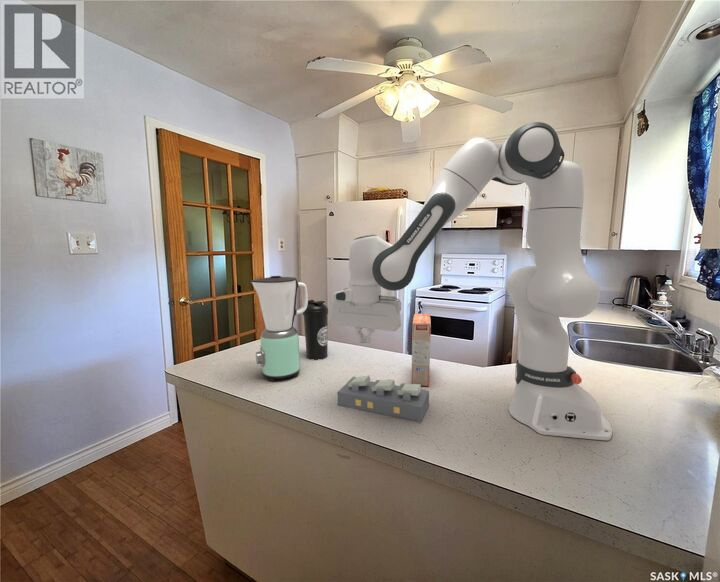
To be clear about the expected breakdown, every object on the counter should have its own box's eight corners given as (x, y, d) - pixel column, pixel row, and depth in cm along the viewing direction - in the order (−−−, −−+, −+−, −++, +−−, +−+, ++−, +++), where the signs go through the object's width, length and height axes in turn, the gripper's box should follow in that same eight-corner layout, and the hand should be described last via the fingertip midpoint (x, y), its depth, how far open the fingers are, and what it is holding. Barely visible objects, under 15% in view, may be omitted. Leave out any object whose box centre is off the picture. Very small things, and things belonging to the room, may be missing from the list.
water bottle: (318, 362, 127) (316, 304, 123) (299, 357, 132) (296, 301, 129) (334, 354, 135) (333, 299, 131) (315, 350, 140) (313, 297, 137)
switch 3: (421, 389, 90) (420, 383, 90) (417, 395, 87) (417, 390, 87) (401, 388, 93) (400, 383, 92) (397, 394, 89) (396, 389, 89)
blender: (260, 386, 106) (253, 279, 101) (254, 372, 118) (247, 276, 113) (316, 375, 115) (312, 276, 109) (304, 362, 126) (300, 272, 121)
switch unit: (428, 403, 93) (429, 384, 92) (421, 422, 84) (421, 401, 83) (352, 390, 103) (351, 372, 102) (337, 405, 93) (336, 386, 92)
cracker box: (430, 387, 104) (431, 323, 101) (410, 386, 105) (411, 322, 102) (429, 370, 117) (430, 313, 114) (412, 369, 118) (413, 312, 115)
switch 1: (370, 379, 96) (369, 374, 96) (365, 385, 92) (364, 380, 92) (353, 381, 98) (352, 376, 98) (348, 387, 95) (346, 382, 95)
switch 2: (395, 384, 93) (394, 379, 93) (390, 390, 90) (389, 384, 89) (377, 385, 96) (375, 380, 95) (372, 391, 92) (371, 385, 92)
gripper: (404, 295, 89) (403, 343, 92) (337, 290, 97) (337, 335, 99) (398, 298, 84) (397, 350, 86) (327, 293, 91) (328, 341, 94)
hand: (364, 342), depth 93 cm, fingers closed
